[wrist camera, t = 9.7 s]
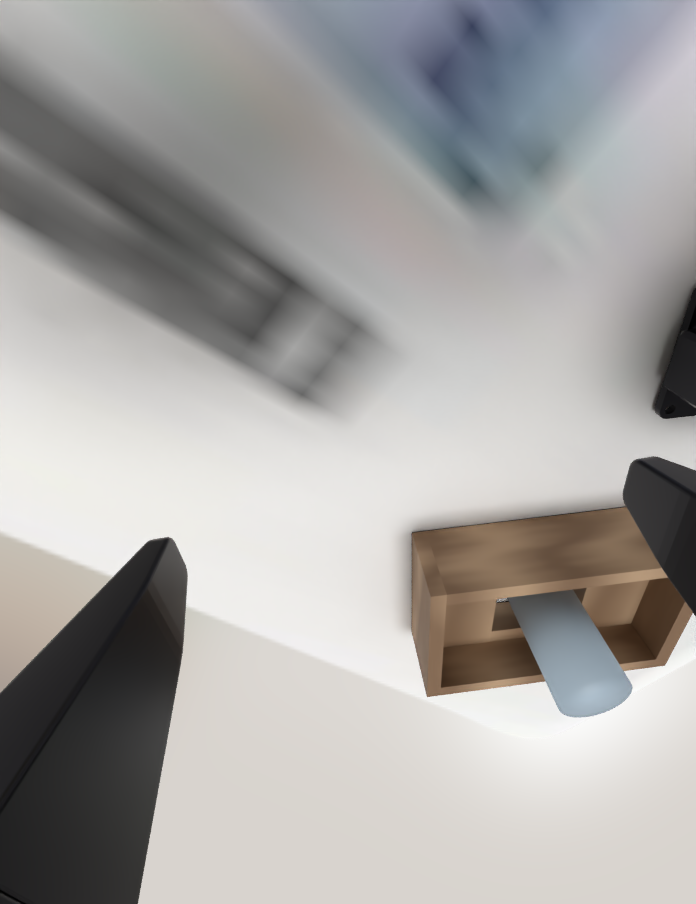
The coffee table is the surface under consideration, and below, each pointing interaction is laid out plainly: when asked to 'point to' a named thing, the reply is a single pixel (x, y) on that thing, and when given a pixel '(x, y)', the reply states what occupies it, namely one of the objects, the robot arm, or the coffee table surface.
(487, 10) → the coffee table surface
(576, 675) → the peg
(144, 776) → the robot arm
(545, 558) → the caddy
